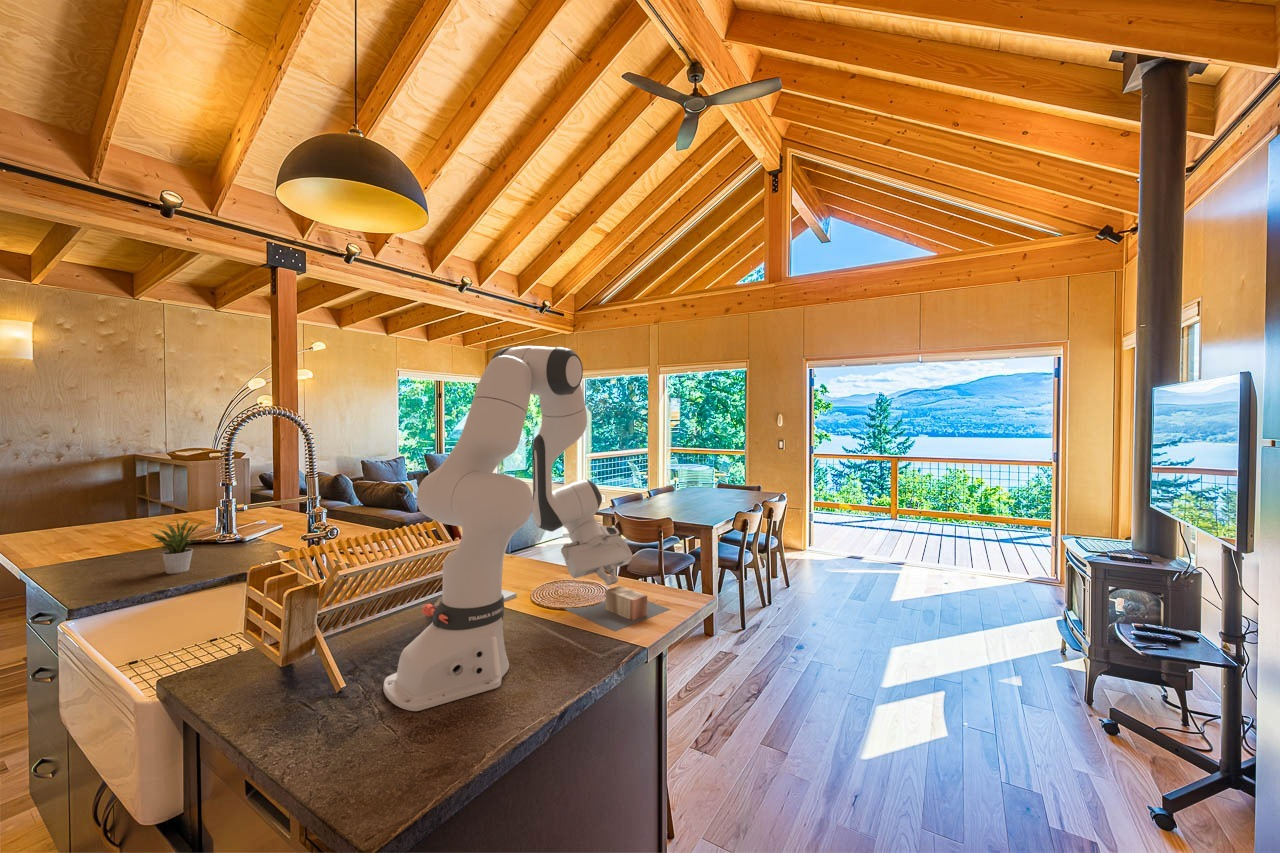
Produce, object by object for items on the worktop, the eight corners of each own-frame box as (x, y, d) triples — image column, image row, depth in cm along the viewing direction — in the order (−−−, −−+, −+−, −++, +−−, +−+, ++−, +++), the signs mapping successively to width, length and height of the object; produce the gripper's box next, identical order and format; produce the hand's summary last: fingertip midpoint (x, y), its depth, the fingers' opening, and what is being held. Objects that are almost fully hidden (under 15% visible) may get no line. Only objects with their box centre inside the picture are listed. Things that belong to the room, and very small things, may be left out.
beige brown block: (605, 609, 132) (632, 620, 125) (605, 590, 131) (633, 600, 125) (619, 604, 135) (646, 615, 128) (619, 585, 135) (647, 595, 128)
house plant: (203, 561, 169) (204, 512, 169) (218, 568, 162) (218, 517, 161) (144, 571, 158) (145, 518, 157) (157, 579, 150) (158, 524, 150)
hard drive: (495, 587, 145) (460, 600, 135) (516, 592, 141) (482, 606, 131) (495, 593, 145) (460, 606, 135) (516, 598, 141) (482, 613, 131)
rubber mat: (614, 633, 118) (614, 631, 118) (564, 611, 131) (564, 609, 131) (670, 611, 133) (670, 609, 133) (619, 593, 146) (619, 591, 146)
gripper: (564, 538, 131) (588, 585, 124) (621, 527, 145) (645, 569, 139) (553, 552, 134) (576, 599, 127) (610, 540, 149) (633, 581, 142)
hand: (613, 583), depth 133 cm, fingers closed
